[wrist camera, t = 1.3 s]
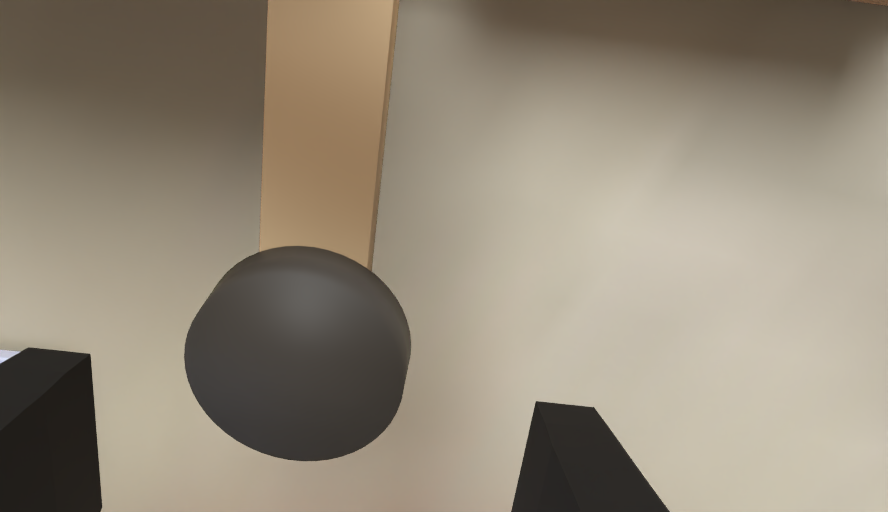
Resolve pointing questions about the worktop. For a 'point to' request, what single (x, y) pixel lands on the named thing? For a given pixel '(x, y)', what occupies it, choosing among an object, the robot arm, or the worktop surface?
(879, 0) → the stand
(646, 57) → the worktop surface
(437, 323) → the worktop surface
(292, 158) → the lever
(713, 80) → the worktop surface
